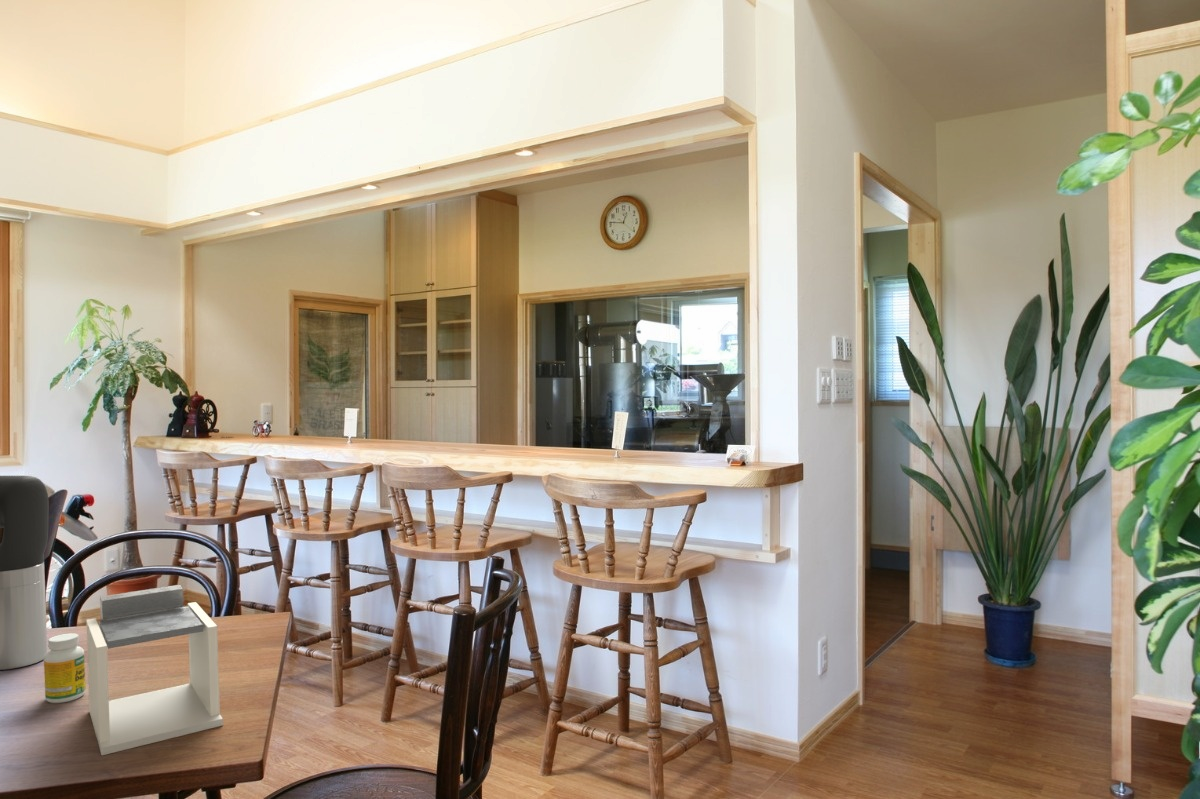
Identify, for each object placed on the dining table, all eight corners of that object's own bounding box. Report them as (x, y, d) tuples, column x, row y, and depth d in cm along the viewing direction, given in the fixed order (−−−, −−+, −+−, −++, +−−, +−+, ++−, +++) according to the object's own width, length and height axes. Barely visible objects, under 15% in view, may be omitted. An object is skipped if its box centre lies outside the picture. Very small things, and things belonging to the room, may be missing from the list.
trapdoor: (97, 622, 125) (96, 597, 125) (183, 608, 132) (182, 584, 132) (108, 649, 112) (107, 621, 112) (203, 632, 119) (202, 605, 119)
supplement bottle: (50, 693, 130) (48, 634, 130) (89, 688, 132) (87, 630, 132) (40, 706, 125) (38, 644, 125) (81, 700, 127) (78, 640, 127)
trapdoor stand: (89, 711, 123) (86, 619, 123) (198, 687, 132) (195, 601, 132) (101, 755, 109) (98, 651, 108) (222, 725, 117) (220, 629, 117)
